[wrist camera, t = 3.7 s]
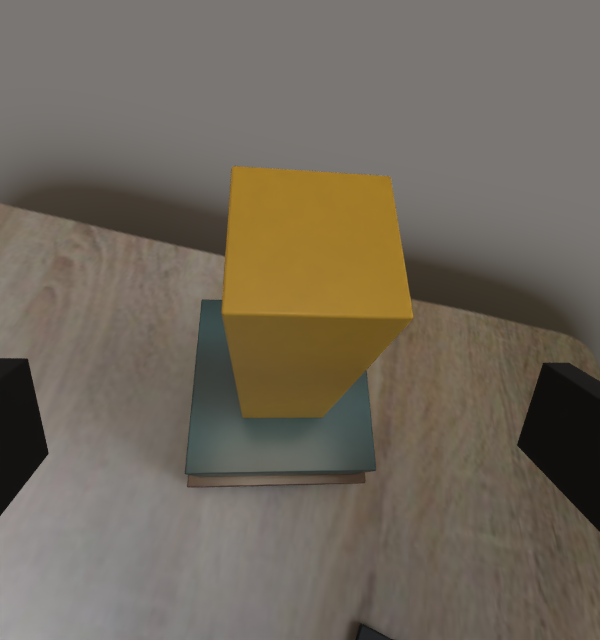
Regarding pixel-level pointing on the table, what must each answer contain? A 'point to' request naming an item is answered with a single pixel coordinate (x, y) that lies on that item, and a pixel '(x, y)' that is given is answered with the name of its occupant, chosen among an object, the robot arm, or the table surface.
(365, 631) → the mat
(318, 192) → the bar
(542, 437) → the robot arm
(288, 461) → the teal cube on base
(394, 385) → the table surface
